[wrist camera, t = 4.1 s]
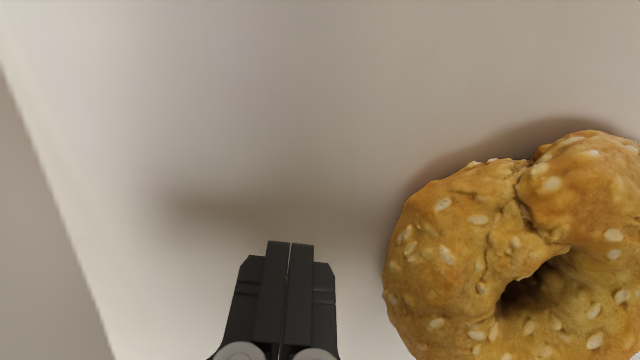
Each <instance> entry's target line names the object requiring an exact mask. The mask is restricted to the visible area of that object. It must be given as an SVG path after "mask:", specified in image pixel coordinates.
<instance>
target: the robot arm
mask: <svg viewBox="0 0 640 360" xmlns="http://www.w3.org/2000/svg"><path fill="white" fill-rule="evenodd" d="M289 248H290V243H288V242H279V241H269V240H268V243H267V249H266V255H265V256H255V255H249V256H248V257H247V259H246V260H245V261H244V262H243V264H242V265H241V266H240V269H239V273H238V278H237V283H236V286H235V290H234V295H233V299H232V303H231V307H230V312H229V316H228V320H227V324H226V329H225V333H224V337H223V340H222V343H221V345H220V347H219V348H218V350H217V351H216V352H215V353H214V354H213V355H212V356H211V357H209V358H208V359H206V360H340V357H339V354H338V349H337V324H336V305H335V303H336V296H335V276H334V274H333V272H332V270H331V268H330V266H329V264H328V263H322V262H314V245H307V244H298V243H292V245H291V252H290V259H289ZM288 259H289V266H288ZM287 269H288V273H287ZM286 279H287V280H286ZM279 348H280V349H279ZM278 354H279V359H278Z"/></svg>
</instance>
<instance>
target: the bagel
mask: <svg viewBox="0 0 640 360" xmlns="http://www.w3.org/2000/svg"><path fill="white" fill-rule="evenodd" d="M381 277H382V281H383V287H384V292H383V294H382V297H383V299H384V301H385V303H386V306H387V314H388V317H389V320H390V322H391V323H392V325H393V326H394V327H395V328H396V329H397V331H398V333H399V335H400V337H401V339H402V341H403V342H404V344H405V345H406V347H407V348H408V350H409V352H410V353H411V354H412V355H413V356H414V357H415V358H416V359H417V360H629V359H630V358H631V357H632V356H633V355H634V354H636V353H637V352H639V351H640V146H639V145H638V144H637V143H636V140H630V139H626V138H624V137H619V136H614V135H610V134H608V133H605V132H601V131H597V130H584V131H577V132H572V133H568V134H565V135H564V136H563V137H562V138H561V139H559V140H556V141H555V142H554V143H552V144H545V145H541V146H539V147H538V149H537V150H536V152H534V155H533V156H532V157H531V158H530V160H525V159H522V160H518V161H516V160H513V159H511V158H504V159H497V158H493V159H489V160H488V161H487V162H486V163H482V162H476V161H472V162H470V163H469V164H468V165H466V167H464V168H462V169H460V170H459V171H457V172H456V173H454V174H452V175H451V176H449V177H446V178H444V179H442V180H433V181H431V182H429V183H428V184H427V185H426V186H424V187H423V188H422V189H421V190H419V191H417V192H416V193H414V194H413V195H412V196H410V197H409V198H408V199H407V200H406V202H405V204H404V207H403V210H402V214H401V216H400V217H399V219H398V222H397V224H396V227H395V229H394V231H393V233H392V236H391V238H390V242H389V248H388V252H387V258H386V263H385V267H384V269H383V271H382V275H381Z"/></svg>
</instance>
